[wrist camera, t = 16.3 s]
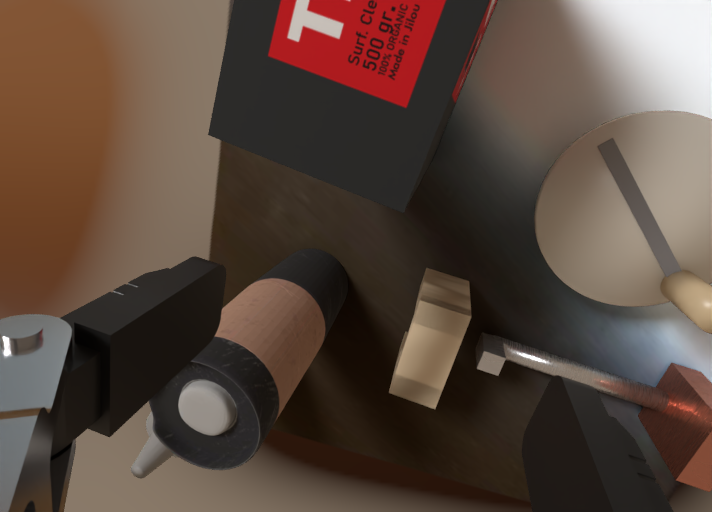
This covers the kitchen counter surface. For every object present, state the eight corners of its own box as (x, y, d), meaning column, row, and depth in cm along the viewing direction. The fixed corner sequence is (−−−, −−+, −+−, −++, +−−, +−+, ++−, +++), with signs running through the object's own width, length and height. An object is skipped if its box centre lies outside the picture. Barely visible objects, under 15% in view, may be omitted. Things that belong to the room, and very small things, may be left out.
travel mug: (367, 280, 40) (289, 423, 22) (321, 330, 43) (219, 493, 25) (306, 229, 40) (175, 329, 21) (264, 283, 43) (118, 412, 24)
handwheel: (504, 265, 34) (513, 295, 28) (587, 84, 29) (618, 78, 23) (682, 326, 32) (728, 370, 27) (804, 147, 27) (893, 156, 21)
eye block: (399, 348, 42) (388, 392, 35) (426, 267, 38) (419, 300, 32) (438, 361, 41) (435, 409, 34) (469, 281, 38) (471, 316, 31)
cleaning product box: (406, -105, 30) (322, -454, 11) (525, -66, 29) (640, -376, 11) (335, 123, 36) (208, 134, 18) (432, 160, 35) (403, 213, 17)
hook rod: (467, 358, 40) (469, 407, 33) (489, 304, 38) (495, 345, 31) (665, 425, 38) (709, 491, 31) (700, 372, 35) (756, 431, 29)
